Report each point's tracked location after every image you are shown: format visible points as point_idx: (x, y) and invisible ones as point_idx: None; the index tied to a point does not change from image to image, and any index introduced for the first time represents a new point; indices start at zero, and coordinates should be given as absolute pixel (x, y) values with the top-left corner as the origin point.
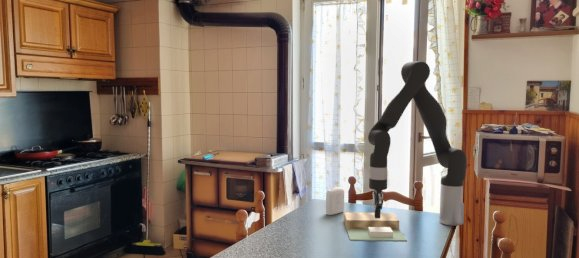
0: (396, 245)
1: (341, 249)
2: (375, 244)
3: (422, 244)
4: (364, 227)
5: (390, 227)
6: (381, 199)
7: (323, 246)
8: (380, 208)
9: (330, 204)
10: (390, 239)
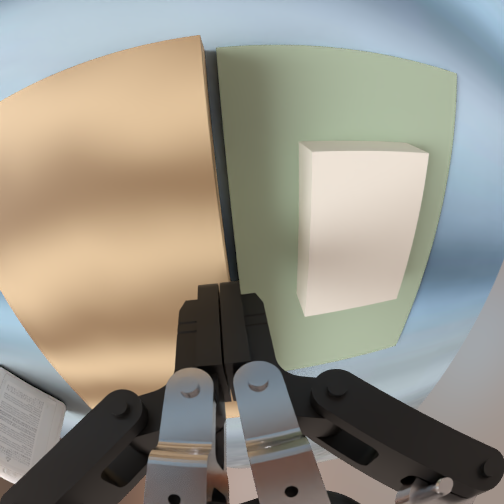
0: (489, 156)
1: (450, 343)
2: (460, 251)
3: (480, 16)
4: None
5: (211, 130)
6: (484, 488)
7: (414, 380)
8: (353, 390)
9: (56, 441)
10: (443, 172)
